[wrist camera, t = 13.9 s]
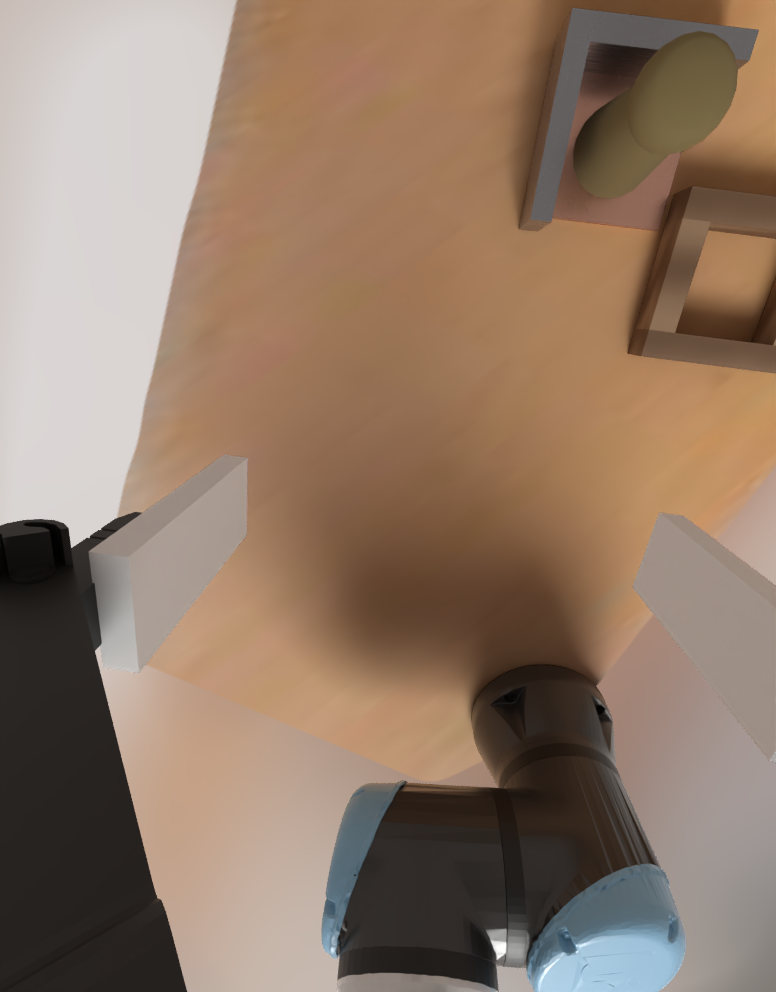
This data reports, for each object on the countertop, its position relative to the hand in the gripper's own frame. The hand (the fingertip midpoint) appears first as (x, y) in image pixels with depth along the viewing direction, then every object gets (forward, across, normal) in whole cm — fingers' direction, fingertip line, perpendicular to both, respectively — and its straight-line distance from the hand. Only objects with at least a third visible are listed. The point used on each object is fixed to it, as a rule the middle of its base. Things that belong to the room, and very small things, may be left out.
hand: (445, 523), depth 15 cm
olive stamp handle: (+29, -11, -19) cm, 36 cm away
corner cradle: (+29, -11, -19) cm, 36 cm away
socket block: (+29, -22, -11) cm, 38 cm away
